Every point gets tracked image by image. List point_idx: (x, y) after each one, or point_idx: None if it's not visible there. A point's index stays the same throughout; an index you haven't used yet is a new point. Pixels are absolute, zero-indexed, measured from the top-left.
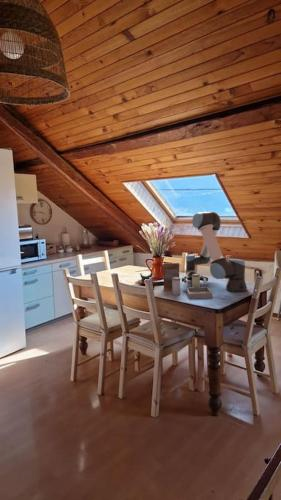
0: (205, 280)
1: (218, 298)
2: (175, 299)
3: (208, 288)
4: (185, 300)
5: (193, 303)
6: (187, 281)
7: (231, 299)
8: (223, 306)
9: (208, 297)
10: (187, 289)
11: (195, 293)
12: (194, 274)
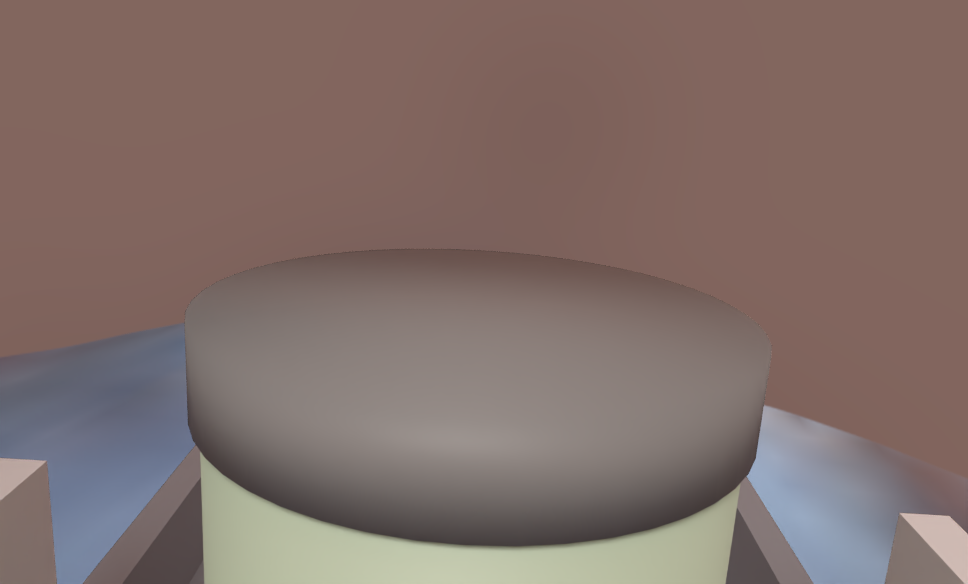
0: (30, 479)
1: (185, 418)
2: (909, 468)
3: (144, 526)
4: None
5: None
6: (911, 554)
7: (30, 378)
8: None
9: None
10: (777, 541)
11: None
12: (577, 338)
